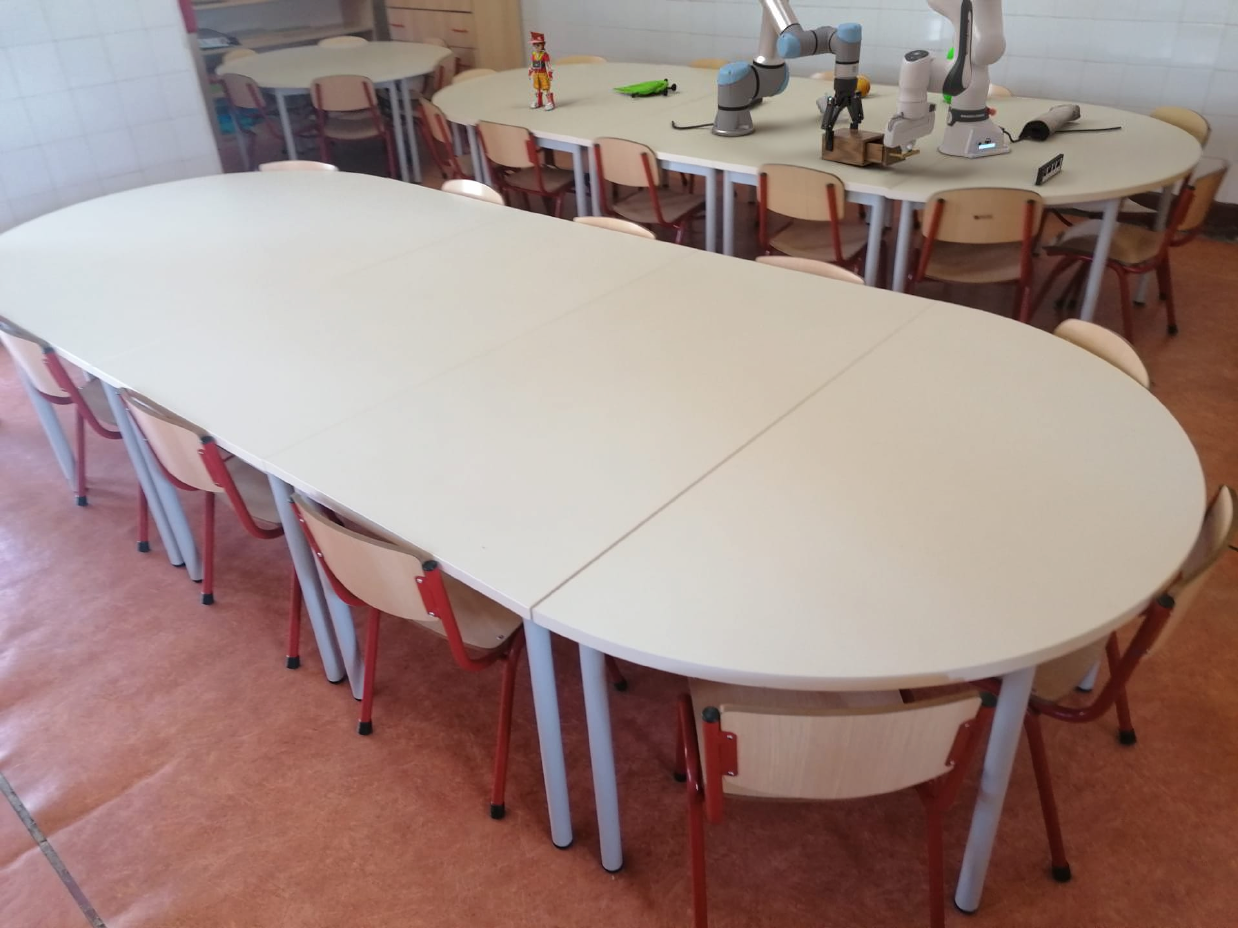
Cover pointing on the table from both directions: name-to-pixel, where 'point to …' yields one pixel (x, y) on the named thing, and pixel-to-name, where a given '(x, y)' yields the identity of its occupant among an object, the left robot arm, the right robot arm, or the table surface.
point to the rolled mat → (1050, 122)
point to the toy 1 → (541, 71)
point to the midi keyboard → (1049, 169)
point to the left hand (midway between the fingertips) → (840, 147)
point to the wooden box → (849, 145)
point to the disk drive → (754, 102)
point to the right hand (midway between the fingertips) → (906, 155)
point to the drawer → (885, 153)
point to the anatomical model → (823, 104)
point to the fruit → (863, 86)
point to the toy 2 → (648, 88)
